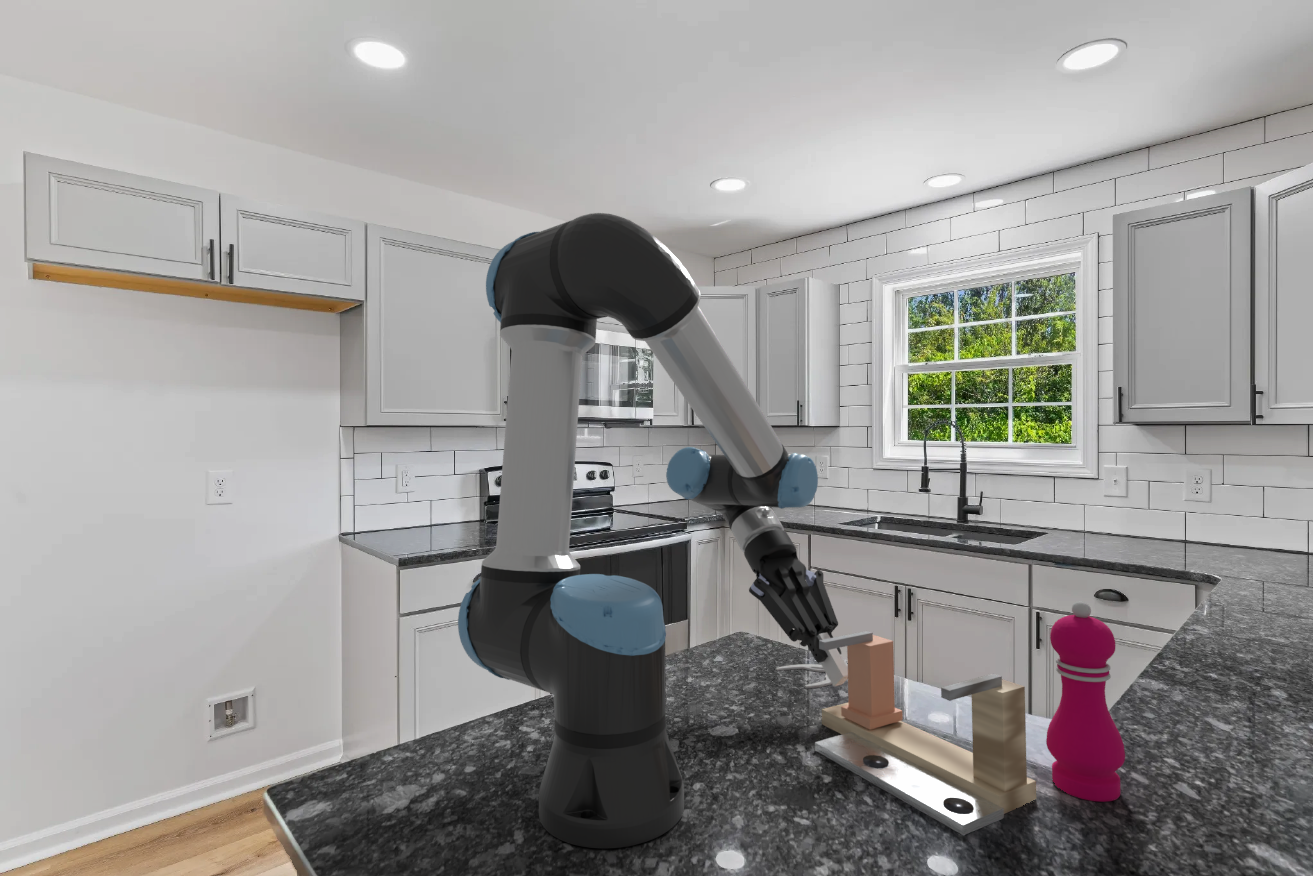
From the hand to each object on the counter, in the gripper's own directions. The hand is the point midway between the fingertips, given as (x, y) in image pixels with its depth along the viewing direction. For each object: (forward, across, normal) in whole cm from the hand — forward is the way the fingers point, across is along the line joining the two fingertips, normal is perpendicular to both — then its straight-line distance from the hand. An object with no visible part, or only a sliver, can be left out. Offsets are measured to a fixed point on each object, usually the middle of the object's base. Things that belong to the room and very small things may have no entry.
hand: (842, 680), depth 92 cm
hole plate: (+15, -6, -7) cm, 17 cm away
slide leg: (+6, -3, -1) cm, 7 cm away
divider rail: (+13, -3, -5) cm, 14 cm away
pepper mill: (+23, +10, -14) cm, 29 cm away
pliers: (-7, +12, +16) cm, 21 cm away
